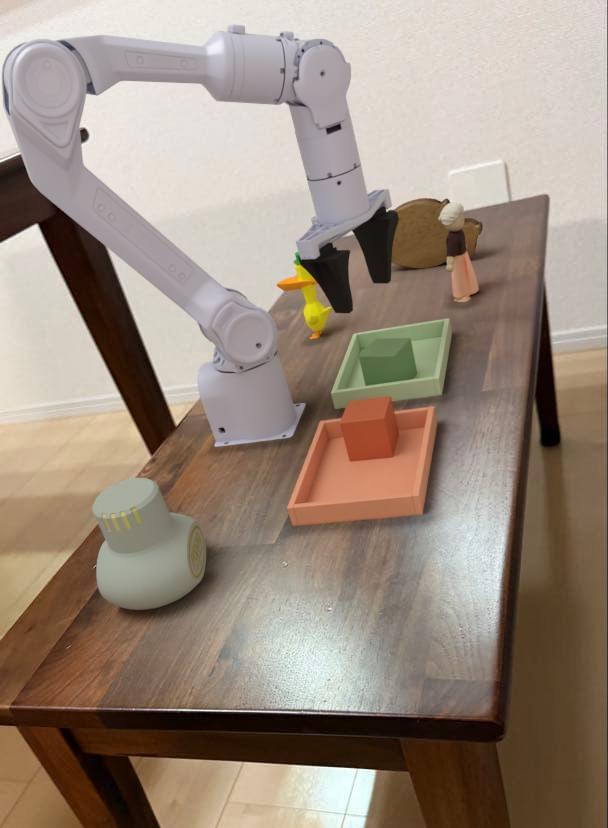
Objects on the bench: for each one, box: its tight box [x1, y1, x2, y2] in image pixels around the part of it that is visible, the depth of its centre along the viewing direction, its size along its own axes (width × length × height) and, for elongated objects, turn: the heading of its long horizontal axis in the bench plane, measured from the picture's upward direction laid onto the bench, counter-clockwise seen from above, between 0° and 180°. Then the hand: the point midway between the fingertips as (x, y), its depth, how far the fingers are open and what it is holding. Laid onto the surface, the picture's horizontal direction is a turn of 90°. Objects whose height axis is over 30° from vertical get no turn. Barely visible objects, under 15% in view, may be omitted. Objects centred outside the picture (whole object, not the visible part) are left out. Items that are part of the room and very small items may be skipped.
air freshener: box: [91, 477, 207, 611], centre depth 74 cm, size 11×8×10 cm
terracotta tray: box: [286, 405, 438, 527], centre depth 82 cm, size 12×16×3 cm
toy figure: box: [276, 251, 333, 340], centre depth 112 cm, size 7×4×12 cm, turn 73°
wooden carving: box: [387, 197, 484, 269], centre depth 125 cm, size 16×5×10 cm, turn 77°
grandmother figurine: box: [438, 202, 480, 303], centre depth 110 cm, size 8×4×13 cm, turn 168°
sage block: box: [359, 338, 417, 386], centre depth 96 cm, size 4×4×4 cm
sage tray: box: [330, 317, 453, 410], centre depth 99 cm, size 12×16×3 cm
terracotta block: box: [340, 396, 399, 461], centre depth 85 cm, size 4×4×4 cm
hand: (363, 296), depth 94 cm, fingers open, 7 cm apart
